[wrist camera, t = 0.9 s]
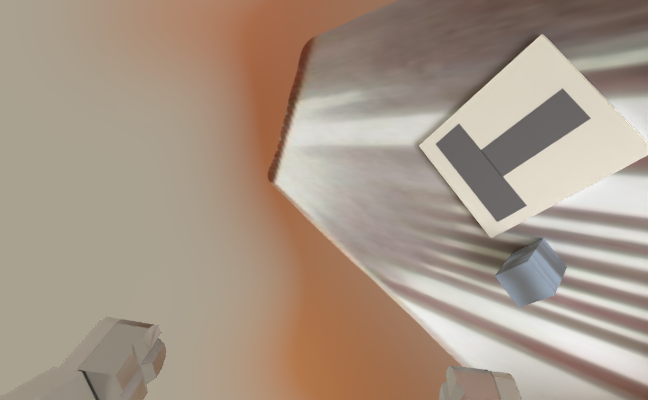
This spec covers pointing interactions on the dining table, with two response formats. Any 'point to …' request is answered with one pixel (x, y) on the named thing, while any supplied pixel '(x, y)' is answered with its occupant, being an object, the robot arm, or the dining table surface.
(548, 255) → the gray block
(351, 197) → the dining table surface
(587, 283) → the dining table surface
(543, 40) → the letter board
